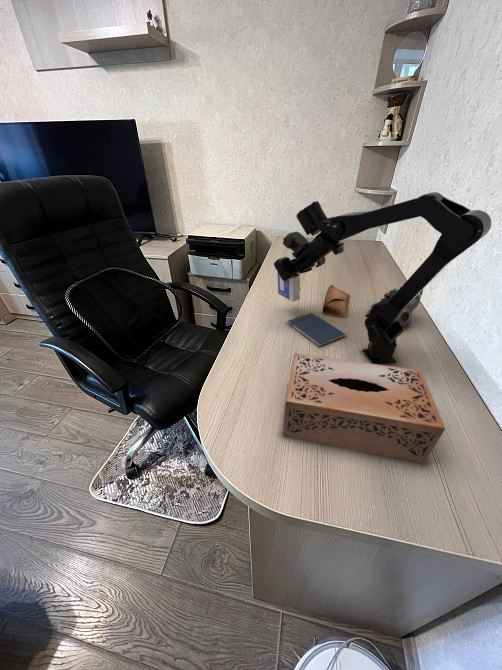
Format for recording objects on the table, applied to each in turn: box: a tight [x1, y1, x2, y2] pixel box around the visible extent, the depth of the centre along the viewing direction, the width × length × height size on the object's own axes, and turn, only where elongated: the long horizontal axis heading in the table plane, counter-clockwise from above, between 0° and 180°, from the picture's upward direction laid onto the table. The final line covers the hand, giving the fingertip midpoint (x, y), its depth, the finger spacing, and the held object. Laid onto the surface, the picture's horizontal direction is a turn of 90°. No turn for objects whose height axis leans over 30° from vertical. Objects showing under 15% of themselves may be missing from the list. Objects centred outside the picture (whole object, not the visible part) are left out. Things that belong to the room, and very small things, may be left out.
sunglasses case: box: [322, 284, 350, 318], centre depth 100 cm, size 18×7×7 cm
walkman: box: [276, 266, 301, 302], centre depth 89 cm, size 8×3×12 cm, turn 34°
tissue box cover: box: [282, 352, 446, 465], centre depth 56 cm, size 26×14×10 cm, turn 77°
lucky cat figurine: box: [366, 284, 424, 328], centre depth 89 cm, size 15×12×14 cm
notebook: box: [287, 312, 346, 348], centre depth 87 cm, size 15×10×1 cm
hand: (284, 276), depth 89 cm, fingers closed on walkman, 3 cm apart
